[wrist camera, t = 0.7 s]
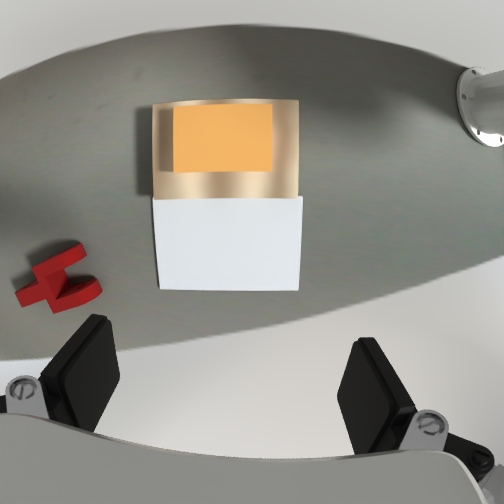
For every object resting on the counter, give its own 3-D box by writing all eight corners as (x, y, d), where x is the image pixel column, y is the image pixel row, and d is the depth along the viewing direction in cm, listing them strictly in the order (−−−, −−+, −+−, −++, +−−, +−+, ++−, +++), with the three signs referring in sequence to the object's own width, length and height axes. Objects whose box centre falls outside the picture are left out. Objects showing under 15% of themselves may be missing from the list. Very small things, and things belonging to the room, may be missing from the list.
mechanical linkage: (87, 240, 37) (69, 250, 33) (107, 286, 39) (92, 301, 35) (21, 270, 39) (3, 281, 34) (39, 309, 41) (23, 323, 36)
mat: (302, 195, 36) (302, 196, 35) (297, 288, 39) (298, 290, 39) (153, 197, 36) (152, 197, 35) (160, 287, 39) (160, 289, 39)
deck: (294, 105, 32) (298, 100, 30) (293, 195, 36) (297, 198, 33) (160, 108, 32) (152, 104, 29) (161, 196, 36) (153, 200, 33)
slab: (270, 107, 30) (272, 104, 28) (270, 170, 32) (272, 171, 30) (178, 110, 30) (173, 106, 28) (178, 172, 32) (173, 173, 30)
